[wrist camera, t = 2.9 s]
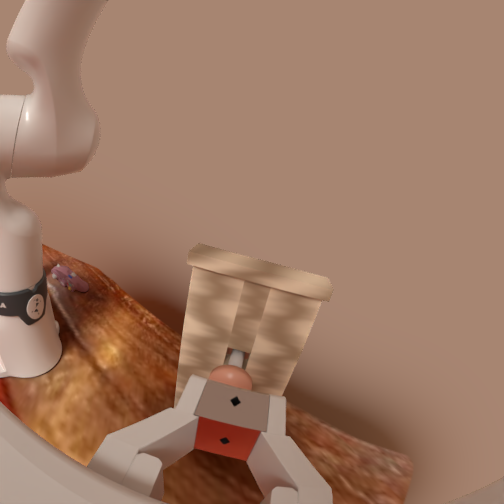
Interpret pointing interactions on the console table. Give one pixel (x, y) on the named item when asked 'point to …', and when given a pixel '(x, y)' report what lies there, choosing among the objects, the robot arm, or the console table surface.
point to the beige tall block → (247, 317)
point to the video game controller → (69, 278)
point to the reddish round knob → (233, 371)
